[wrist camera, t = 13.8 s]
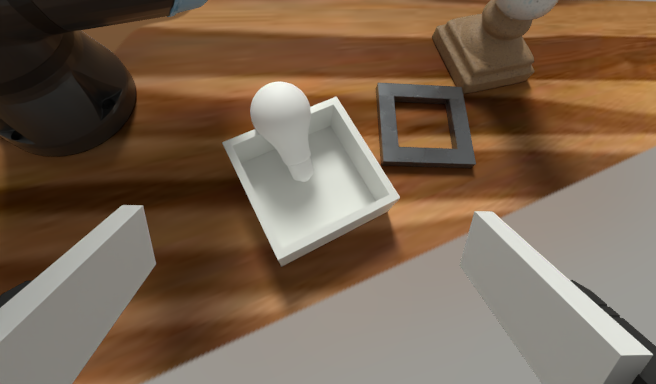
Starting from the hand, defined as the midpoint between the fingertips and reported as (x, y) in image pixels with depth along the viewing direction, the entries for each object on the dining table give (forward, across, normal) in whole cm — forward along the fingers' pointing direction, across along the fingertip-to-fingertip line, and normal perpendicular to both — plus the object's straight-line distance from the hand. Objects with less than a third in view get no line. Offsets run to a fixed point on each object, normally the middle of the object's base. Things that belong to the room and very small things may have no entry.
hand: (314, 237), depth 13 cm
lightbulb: (+22, 0, -7) cm, 23 cm away
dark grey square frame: (+29, +15, -2) cm, 33 cm away
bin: (+23, 0, -8) cm, 24 cm away
